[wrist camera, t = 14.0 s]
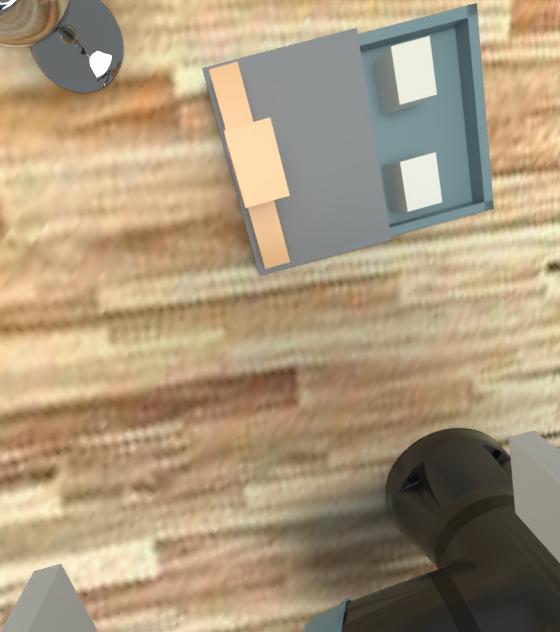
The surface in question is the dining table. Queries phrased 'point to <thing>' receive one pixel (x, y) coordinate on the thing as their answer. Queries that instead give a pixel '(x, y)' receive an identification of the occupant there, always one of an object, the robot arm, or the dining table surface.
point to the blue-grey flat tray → (436, 116)
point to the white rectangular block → (405, 75)
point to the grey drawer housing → (316, 146)
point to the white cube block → (413, 183)
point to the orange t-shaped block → (253, 162)
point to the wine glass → (66, 40)
